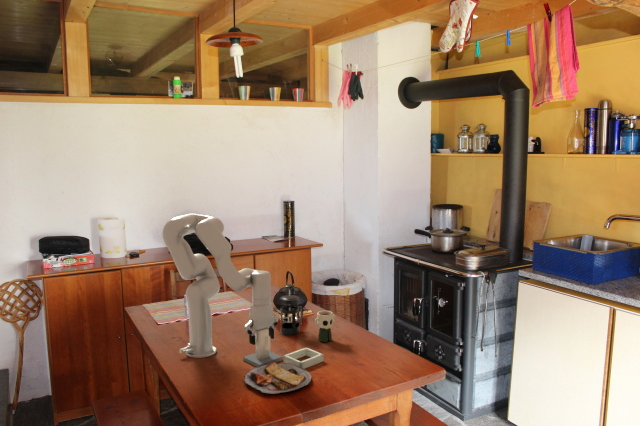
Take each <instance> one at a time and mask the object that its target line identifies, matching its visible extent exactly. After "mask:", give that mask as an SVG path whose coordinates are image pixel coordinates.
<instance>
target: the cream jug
mask: <svg viewBox="0 0 640 426" xmlns="http://www.w3.org/2000/svg"><path fill="white" fill-rule="evenodd" d="M269 328H270V327H267V328H263V329H260V330H257V331H256V332H255V334H254V335H255V353H256V358H257V359H261V360H263V359H267V358H269V351H271V348H272V347H271V343H272V342H271V338H270V336H269ZM271 352H272V351H271Z"/></svg>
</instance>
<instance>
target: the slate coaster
mask: <svg viewBox="0 0 640 426" xmlns="http://www.w3.org/2000/svg"><path fill="white" fill-rule="evenodd" d="M242 359H243V361H244V362H246V363H248V364H249V365H251V366H254V367H255V368H256V367H260V366H263V365H269V364H271V363H272V362H275V363H278V362H282V361H284V356H283V355H280V354H277V353H276V352H274V351H269V358H267V359H263V360H261V359H257V358H256V352H254V353H251V354H248V355H246V356H243V357H242Z"/></svg>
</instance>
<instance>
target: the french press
mask: <svg viewBox="0 0 640 426" xmlns="http://www.w3.org/2000/svg"><path fill="white" fill-rule="evenodd" d="M294 286H295V285H294V284H286V285H284V287H285V288H288V293H289V294H288V295H287V294H285V295H282V296H280V298H279V300H280V301H281V302H283V303H284V305H282V306H280V308H279V309H280V331H279V332H280V334H281V335H283V336H288V337H289V336H291V337H292V336H297V335H299V334H300V333H301V329H300V326H303V325H304V311H303V310H304V307H303V306H302V305H299V306H298V305H297V304H298V303H299V300H300V296H298V295H294V294H292V295H291V288H293V287H294ZM291 308H292V309H295V310H289V309H291ZM296 313H297V315H296ZM283 314H284V316H283Z"/></svg>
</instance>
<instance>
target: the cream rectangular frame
mask: <svg viewBox="0 0 640 426" xmlns="http://www.w3.org/2000/svg"><path fill="white" fill-rule="evenodd" d="M303 357H309V358H306V359H303V360H298V359H301V358H303ZM322 362H324V353H321V352H318V351H316V350H314V349H311V348H309V347H303V348H301V349H298V350H294V351H292V352H289V353H287V354H284V355H283V364H290V365H294V366H296V367H300V368H303V370H304V369H305V370H306V369H307V368H309V367H312V366H315V365H317V364H320V363H322Z"/></svg>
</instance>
